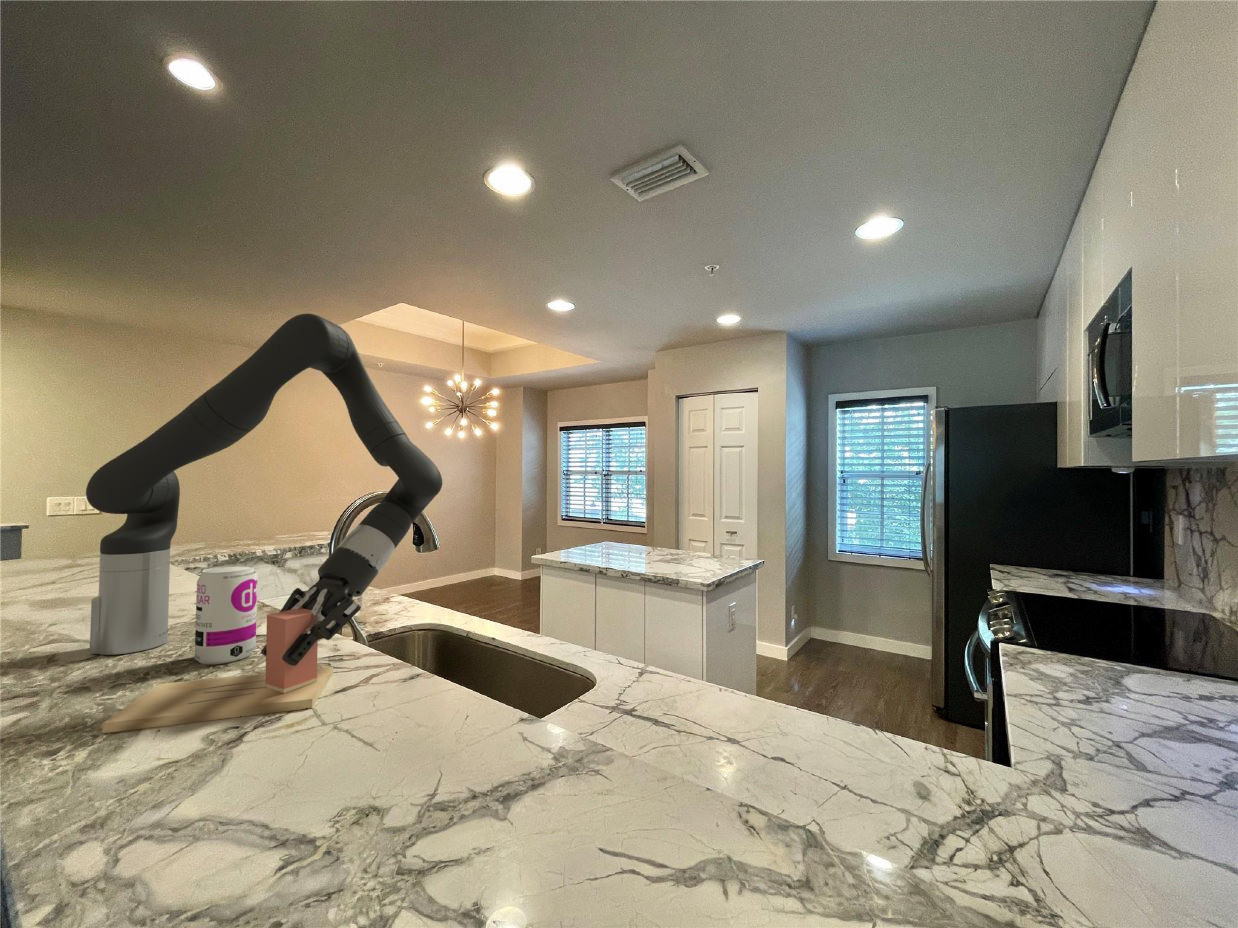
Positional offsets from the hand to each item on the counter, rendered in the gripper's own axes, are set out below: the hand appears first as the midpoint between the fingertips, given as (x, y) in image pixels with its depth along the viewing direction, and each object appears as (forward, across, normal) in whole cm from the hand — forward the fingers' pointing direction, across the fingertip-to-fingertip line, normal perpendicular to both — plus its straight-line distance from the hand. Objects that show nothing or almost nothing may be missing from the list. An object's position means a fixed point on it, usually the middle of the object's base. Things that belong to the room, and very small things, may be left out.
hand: (277, 659), depth 70 cm
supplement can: (0, -25, +8) cm, 26 cm away
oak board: (+6, -5, +2) cm, 8 cm away
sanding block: (+2, 0, +4) cm, 5 cm away
